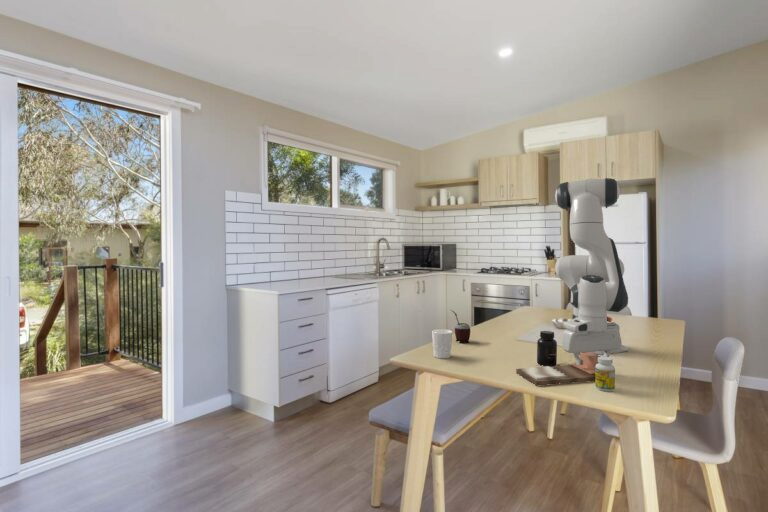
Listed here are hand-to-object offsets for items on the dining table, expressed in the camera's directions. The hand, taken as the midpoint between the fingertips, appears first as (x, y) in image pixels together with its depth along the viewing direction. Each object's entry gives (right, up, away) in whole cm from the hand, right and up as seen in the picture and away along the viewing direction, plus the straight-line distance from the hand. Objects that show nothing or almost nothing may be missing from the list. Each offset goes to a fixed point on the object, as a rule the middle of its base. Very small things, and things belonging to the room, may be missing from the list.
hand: (591, 363), depth 145 cm
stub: (0, -2, 0) cm, 2 cm away
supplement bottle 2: (-3, -4, -14) cm, 15 cm away
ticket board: (-10, -4, -2) cm, 11 cm away
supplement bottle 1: (-11, -3, +12) cm, 16 cm away
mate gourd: (-36, -2, +46) cm, 59 cm away
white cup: (-48, -3, +24) cm, 54 cm away
